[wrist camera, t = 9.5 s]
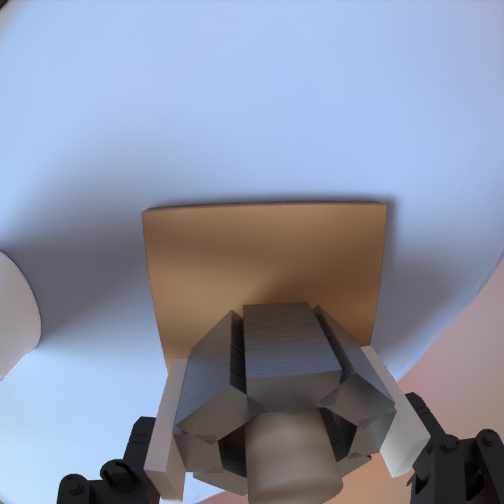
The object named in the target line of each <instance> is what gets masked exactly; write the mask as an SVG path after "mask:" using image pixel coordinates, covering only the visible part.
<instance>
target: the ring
mask: <svg viewBox="0 0 504 504" xmlns="http://www.w3.org/2000/svg"><path fill="white" fill-rule="evenodd" d="M395 404H396V403H395V402H394V400H393V398H392V397H391V395H390V393H389V392H388V390H387V389H386V387H385V385H384V384H383V382H382V380H381V379H380V377H379V376H378V374H377V372H376V371H375V369H374V368H373V366H372V365H371V363H370V361H369V360H368V358H367V357H366V355H365V354H364V352H363V350H362V349H361V347H360V346H359V344H358V343H357V341H356V340H355V338H354V337H353V336H352V335H351V334H350V333H349V332H348V331H346V330H345V329H344V328H343V327H342V326H341V325H340V324H339V323H338V322H337V321H336V320H334V319H333V318H332V317H331V316H330V315H329V314H328V313H327V312H326V311H325V310H324V309H322V308H321V307H320V306H319V305H317V306H316V307H315V308H314V309H313V310H312V308H311V307H310V305H309V303H308V301H305V302H289V303H272V304H252V305H243V318H242V317H240V316H239V315H238V314H237V313H235V312H234V311H233V310H231V311H230V312H229V313H228V314H227V315H225V316H224V317H223V318H222V319H221V320H220V321H219V322H218V323H217V324H216V325H215V326H214V327H213V328H212V329H211V330H210V331H209V332H208V333H207V334H206V335H205V336H204V337H203V338H202V339H201V340H200V341H198V342H197V343H196V344H195V345H194V346H193V347H192V348H191V352H190V356H189V357H188V362H187V367H186V371H185V376H184V380H183V385H182V390H181V394H180V399H179V404H178V409H177V411H176V415H175V420H174V425H173V429H172V434H173V437H174V439H175V442H176V445H177V448H178V451H179V453H180V456H181V459H182V461H183V464H184V466H185V469H186V472H193V478H196V479H198V480H200V481H203V482H205V483H208V484H211V485H213V486H216V487H218V488H221V489H224V490H227V491H230V492H233V493H236V494H239V495H242V496H243V495H246V494H248V486H247V468H246V449H245V428H244V424H245V423H246V422H248V421H249V420H251V419H252V418H254V417H255V416H257V415H258V414H259V413H272V412H284V411H294V410H303V409H311V408H319V409H320V412H321V415H322V418H323V421H324V425H325V428H326V431H327V434H328V437H329V440H330V443H331V447H332V450H333V453H334V456H335V459H336V462H337V466H338V469H339V472H340V475H341V478H342V477H344V476H345V475H347V474H349V473H350V472H352V471H354V470H356V469H357V468H359V467H360V466H362V465H364V464H365V463H367V462H368V461H370V460H372V457H371V454H375V453H378V452H379V451H380V449H381V447H382V444H383V442H384V440H385V438H386V436H387V433H388V431H389V429H390V426H391V424H392V422H393V419H394V417H395V414H396V412H397V410H396V409H395V407H394V405H395Z"/></svg>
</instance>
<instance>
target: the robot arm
mask: <svg viewBox="0 0 504 504" xmlns="http://www.w3.org/2000/svg"><path fill="white" fill-rule="evenodd" d="M5 1H6V0H0V6H1V5H2V4H3V3H4V2H5ZM361 349H362V350H363V352H364V354H365V355H366V357H367V358H368V360H369V361H370V363H371V365H372V366H373V368H374V369H375V371H376V372H377V374H378V376H379V377H380V379H381V380H382V382H383V384H384V385H385V387H386V389H387V390H388V392H389V393H390V395H391V397H392V398H393V400H394V402H395V403H396V404H395V405H394V407H395V409H396V410H397V412H396V414H395V417H394V419H393V422H392V424H391V426H390V429H389V431H388V433H387V436H386V438H385V440H384V442H383V444H382V447H381V449H380V452H381V454H382V456H383V458H384V461H385V463H386V465H387V467H388V470H389V472H390V474H391V476H392V478H395V477H397V476H400V475H403V474H406V473H408V472H409V470H410V469H411V467H412V466H413V468H414V470H415V473H414V474H413V475H412V477H411V478H410V480H409V481H408V482H407V485H406V486H409V485H410V483H411V482H412V489H411V500H410V504H504V445H503V443H502V441H501V439H500V437H499V435H498V434H497V433H496V432H495V431H494V430H491V429H483V430H482V431H480V432H479V433H478V434H477V436H476V437H475V438H470V439H463V440H459V439H458V438H457V437H455V436H453V435H448V434H446V433H445V432H444V430H443V429H442V427H441V426H440V424H439V423H438V421H437V420H436V418H435V417H434V416H433V414H432V413H431V412H430V410H429V408H428V407H426V404H425V402H424V401H423V400H422V398H421V397H419V396H418V395H417V394H415V393H414V392H411V393H408V394H403V392H402V390H401V389H400V387H399V386H398V384H397V383H396V381H395V380H394V378H393V377H392V375H391V374H390V372H389V371H388V369H387V368H386V366H385V365H384V363H383V362H382V360H381V359H380V357H379V356H378V355H377V353H376V352H375V350H374V349H373V347H372V346H371V345H370V346H364V347H361ZM187 362H188V359H173V360H172V364H171V367H170V371H169V374H168V378H167V381H166V385H165V388H164V392H163V395H162V399H161V403H160V406H159V410H158V414H157V418H154V417H143V416H141V417H140V418H139V419H138V420H137V421H136V422H135V424H134V425H133V429H132V432H131V435H130V438H129V443H128V444H127V447H126V450H125V454H124V457H123V460H122V459H114V460H111V461H108V462H107V463H105V464H104V465H103V466H102V468H101V470H100V477H101V478H102V479H103V480H87V479H86V478H85V477H83V476H82V475H79V474H69V475H67V476H65V477H64V478H63V479H62V480H61V482H60V485H59V491H58V497H57V504H159V500H160V496H161V498H162V499H163V501H170V502H180V503H182V500H183V491H184V482H185V473H186V469H185V466H184V464H183V461H182V459H181V456H180V453H179V451H178V448H177V445H176V442H175V439H174V437H173V434H172V429H173V425H174V420H175V415H176V411H177V409H178V404H179V399H180V394H181V390H182V385H183V380H184V376H185V371H186V367H187Z"/></svg>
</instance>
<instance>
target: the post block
mask: <svg viewBox="0 0 504 504" xmlns="http://www.w3.org/2000/svg"><path fill="white" fill-rule="evenodd" d="M386 212H387V205H385V204H382V203H378V202H341V201H320V202H261V203H233V204H211V205H193V206H177V207H162V208H149V209H147V210H145V211H143V212H141V213H142V223H143V233H144V242H145V250H146V257H147V265H148V272H149V279H150V285H151V291H152V297H153V303H154V309H155V314H156V320H157V325H158V330H159V335H160V340H161V344H162V349H163V353H164V358H165V362H166V367H167V371H168V374H169V371H170V367H171V364H172V360H173V359H188V357H189V356H190V352H191V348H192V347H193V346H194V345H195V344H196V343H197V342H198V341H200V340H201V339H202V338H203V337H204V336H205V335H206V334H207V333H208V332H209V331H210V330H211V329H212V328H213V327H214V326H215V325H216V324H217V323H218V322H219V321H220V320H221V319H222V318H223V317H224V316H225V315H227V314H228V313H229V312H230V311H231V310H233V311H234V312H235V313H237V314H238V315H239V316H240V317H242V318H243V305H252V304H272V303H289V302H305V301H308V303H309V305H310V307H311V308H312V310H313V309H314V308H315V307H316V306H317V305H319V306H320V307H321V308H322V309H324V310H325V311H326V312H327V313H328V314H329V315H330V316H331V317H332V318H333V319H334V320H336V321H337V322H338V323H339V324H340V325H341V326H342V327H343V328H344V329H345V330H346V331H348V332H349V333H350V334H351V335H352V336H353V337H354V338H355V340H356V341H357V343H358V344H359V346H360V347H364V346H369V345H370V340H371V335H372V329H373V324H374V318H375V312H376V306H377V300H378V293H379V286H380V278H381V270H382V261H383V251H384V240H385V228H386ZM244 428H245V449H246V468H247V486H248V501H249V504H322V503H324V502H327V501H328V500H330V499H332V498H333V497H335V496H336V495H337V494H339V492H340V491H341V490H342V488H343V482H342V479H341V475H340V472H339V469H338V466H337V462H336V459H335V456H334V453H333V450H332V447H331V443H330V440H329V437H328V434H327V431H326V428H325V425H324V421H323V418H322V415H321V412H320V409H319V408H311V409H303V410H294V411H284V412H272V413H259V414H258V415H257V416H255V417H254V418H252V419H251V420H249V421H248V422H246V423H245V424H244Z"/></svg>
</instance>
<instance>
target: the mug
mask: <svg viewBox="0 0 504 504" xmlns="http://www.w3.org/2000/svg"><path fill="white" fill-rule="evenodd" d="M40 336H41V319H40V314H39V309H38V306H37V303H36V300H35V297H34V295H33V292H32V290H31V288H30V286H29V284H28V282H27V281H26V279H25V277H24V276H23V274H22V273H21V271H20V270H19V269H18V267H17V266H16V265H15V264H14V263H13V261H12V260H11V259H9V258H8V257H7V256H6V255H5V254H3V253H2V252H0V382H1V381H2V380H3V379H4V377H5V376H6V375H7V374H8V373H9V371H10V370H11V369H12V368H13V367H14V366H15V365H16V364H17V362H18V361H19V360H20V359H21V358H22V357H23V356H24V355H26V354H27V353H29V352H31V351H32V350H33V349H34V348H35V347H36V346H37V344H38V342H39V340H40Z"/></svg>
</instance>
